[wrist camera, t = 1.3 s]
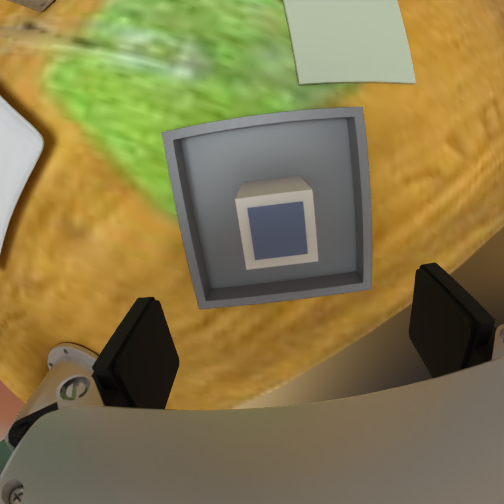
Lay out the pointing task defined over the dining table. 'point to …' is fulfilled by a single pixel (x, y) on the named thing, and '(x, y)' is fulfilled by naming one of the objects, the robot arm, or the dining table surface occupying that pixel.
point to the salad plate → (15, 159)
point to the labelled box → (277, 222)
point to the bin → (264, 168)
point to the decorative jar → (34, 4)
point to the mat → (348, 41)
